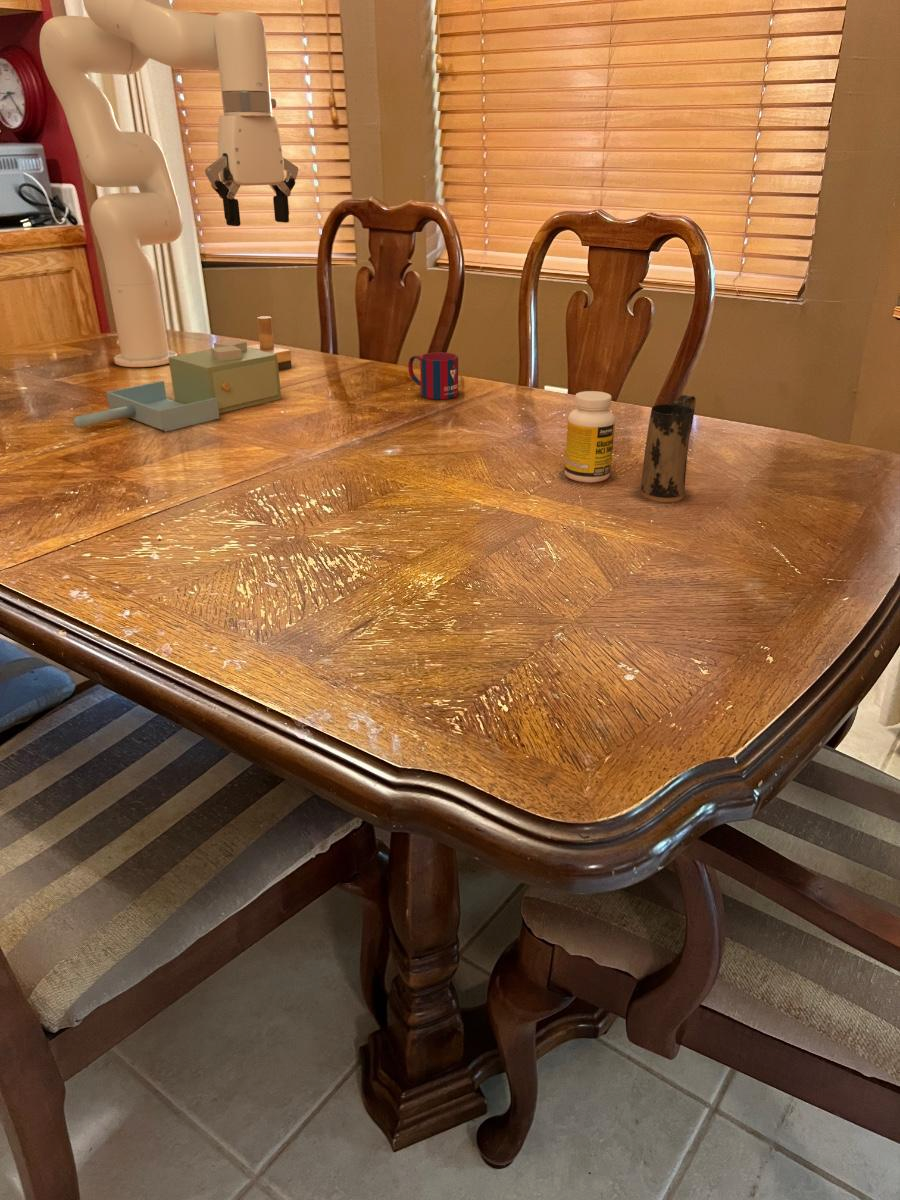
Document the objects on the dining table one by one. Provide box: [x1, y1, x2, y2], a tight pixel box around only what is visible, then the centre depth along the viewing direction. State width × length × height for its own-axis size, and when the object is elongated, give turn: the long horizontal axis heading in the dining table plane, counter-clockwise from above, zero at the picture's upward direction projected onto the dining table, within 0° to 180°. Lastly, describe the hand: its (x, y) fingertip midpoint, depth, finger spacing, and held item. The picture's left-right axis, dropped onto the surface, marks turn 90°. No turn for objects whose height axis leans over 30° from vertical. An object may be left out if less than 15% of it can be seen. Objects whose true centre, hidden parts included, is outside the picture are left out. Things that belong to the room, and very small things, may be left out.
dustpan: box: [72, 380, 220, 433], centre depth 139 cm, size 20×17×3 cm
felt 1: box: [213, 338, 248, 352], centre depth 151 cm, size 4×4×2 cm
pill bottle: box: [563, 390, 616, 484], centre depth 114 cm, size 6×6×11 cm
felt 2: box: [210, 346, 242, 361], centre depth 146 cm, size 4×4×2 cm
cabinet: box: [168, 347, 282, 415], centre depth 149 cm, size 13×14×8 cm
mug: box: [640, 394, 697, 503], centre depth 108 cm, size 8×6×12 cm
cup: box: [407, 351, 459, 400], centre depth 154 cm, size 7×10×7 cm
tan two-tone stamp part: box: [247, 315, 292, 371], centre depth 173 cm, size 10×4×10 cm, turn 47°
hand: (258, 223), depth 144 cm, fingers open, 9 cm apart
